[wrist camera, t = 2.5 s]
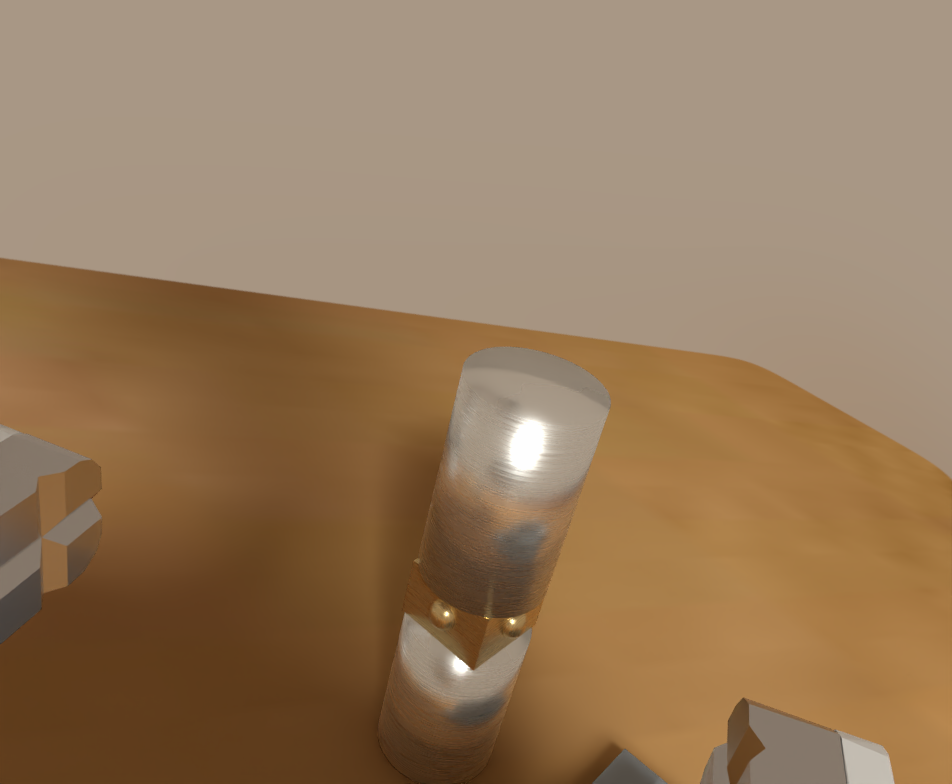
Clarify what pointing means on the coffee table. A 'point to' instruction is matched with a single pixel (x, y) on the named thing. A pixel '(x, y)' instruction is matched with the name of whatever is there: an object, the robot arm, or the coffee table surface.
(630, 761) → the shaft housing
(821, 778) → the robot arm
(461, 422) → the coupler
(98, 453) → the coffee table surface
